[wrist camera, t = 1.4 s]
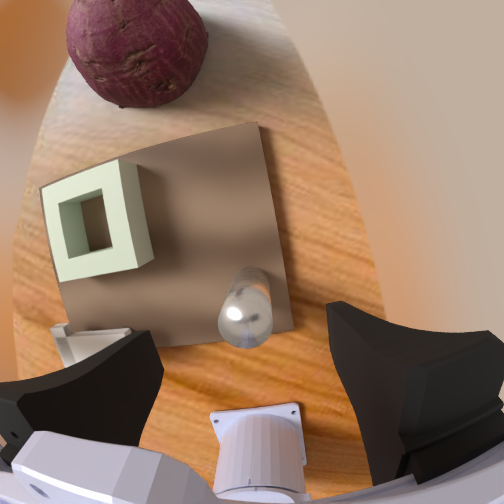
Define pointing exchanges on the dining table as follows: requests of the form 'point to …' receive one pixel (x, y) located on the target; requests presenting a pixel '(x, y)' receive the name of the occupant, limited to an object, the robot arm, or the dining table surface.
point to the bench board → (180, 246)
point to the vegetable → (136, 48)
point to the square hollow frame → (118, 216)
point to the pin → (247, 309)
